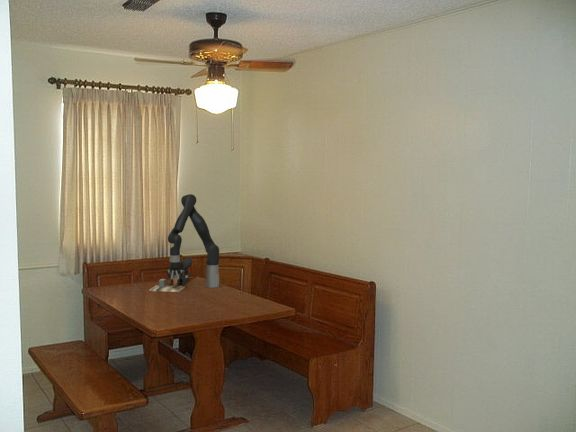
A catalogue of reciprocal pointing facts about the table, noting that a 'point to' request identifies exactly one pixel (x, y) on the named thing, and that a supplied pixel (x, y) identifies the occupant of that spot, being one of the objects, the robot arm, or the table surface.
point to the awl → (175, 282)
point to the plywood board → (167, 288)
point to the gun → (184, 266)
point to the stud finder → (162, 283)
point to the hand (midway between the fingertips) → (175, 283)
